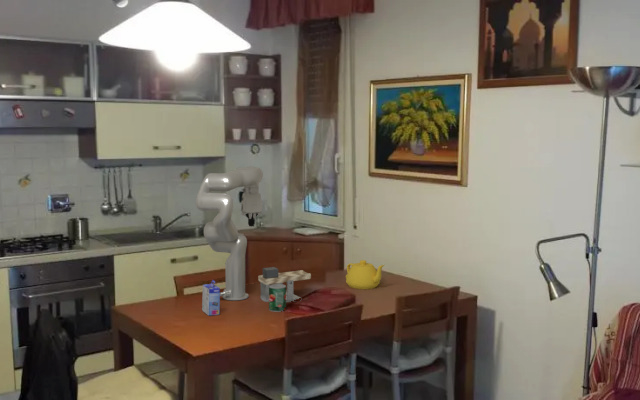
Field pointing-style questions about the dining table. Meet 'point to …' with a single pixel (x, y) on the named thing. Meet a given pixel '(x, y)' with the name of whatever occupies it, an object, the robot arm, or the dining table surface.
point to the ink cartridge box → (211, 299)
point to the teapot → (363, 275)
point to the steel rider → (270, 272)
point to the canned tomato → (277, 297)
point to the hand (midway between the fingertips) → (251, 226)
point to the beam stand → (289, 292)
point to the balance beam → (286, 277)
